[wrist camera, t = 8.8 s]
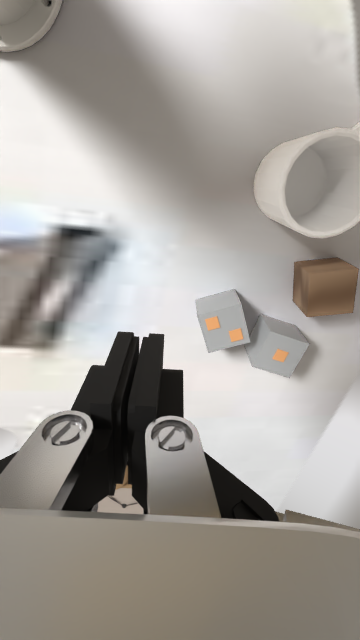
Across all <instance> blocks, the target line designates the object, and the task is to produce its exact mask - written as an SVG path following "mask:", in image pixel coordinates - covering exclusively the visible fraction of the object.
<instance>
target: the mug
mask: <svg viewBox="0 0 360 640" xmlns="http://www.w3.org/2000/svg"><path fill="white" fill-rule="evenodd" d="M253 187H254V195H255V200H256V202H257V204H258V206H259V208H260V210H261V211H262V212H263V213H264V214H265V215H266V216H267V217H268V218H270V219H272V220H274V221H276V222H278V223H280V224H282V225H284V226H286V227H288V228H290V229H292V230H294V231H296V232H299V233H301V234H303V235H305V236H307V237H312V238H328V237H332V236H337V235H340V234H342V233H343V232H345V231H347V230H349V229H351V228H353V227H354V226H355V225H356V224H357V223H358V222H359V221H360V122H359V123H357V124H356V125H355V126H354V127H353V128H352V129H349V128H340V127H335V128H331V129H327V130H323V131H320V132H316V133H313V134H310V135H306V136H303V137H300V138H297V139H293V140H290V141H287V142H284V143H281V144H280V145H278V146H277V147H275V148H274V149H272V150H271V151H270V152H269V153H268V154H267V155H266V156H265V157H264V159H263V160H262V161H261V163H260V165H259V167H258V169H257V172H256V174H255V180H254V186H253Z"/></svg>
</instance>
